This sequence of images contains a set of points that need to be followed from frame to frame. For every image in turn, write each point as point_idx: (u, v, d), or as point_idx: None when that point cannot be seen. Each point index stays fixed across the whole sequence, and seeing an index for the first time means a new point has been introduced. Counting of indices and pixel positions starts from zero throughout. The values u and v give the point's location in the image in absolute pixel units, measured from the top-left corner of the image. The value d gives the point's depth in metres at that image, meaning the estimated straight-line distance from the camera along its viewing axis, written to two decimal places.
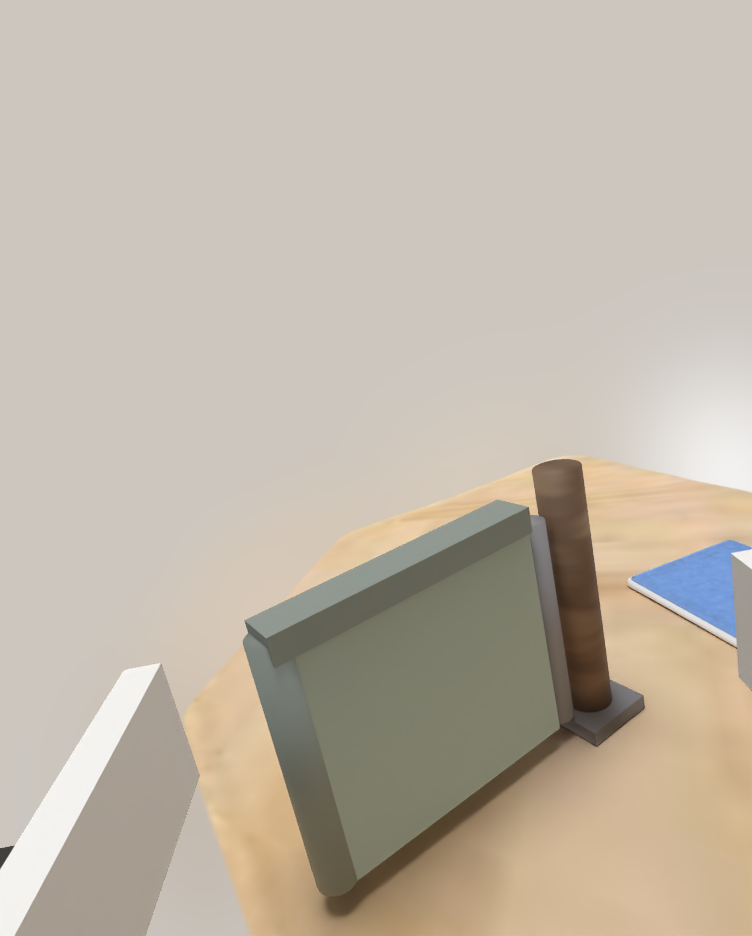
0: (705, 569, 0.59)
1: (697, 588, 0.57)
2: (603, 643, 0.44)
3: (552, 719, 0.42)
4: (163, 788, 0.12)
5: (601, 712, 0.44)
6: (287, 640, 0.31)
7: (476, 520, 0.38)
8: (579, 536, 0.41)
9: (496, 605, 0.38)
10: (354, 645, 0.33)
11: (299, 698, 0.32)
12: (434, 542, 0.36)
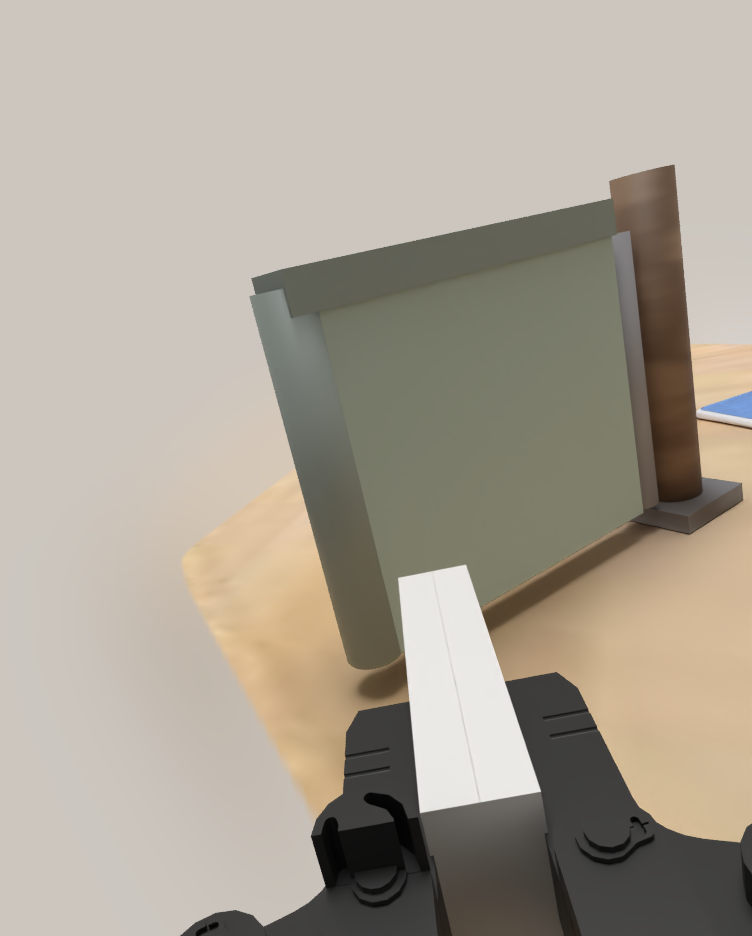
0: None
1: None
2: (695, 411, 0.35)
3: (635, 498, 0.34)
4: None
5: (691, 500, 0.36)
6: (310, 282, 0.23)
7: None
8: (671, 258, 0.33)
9: (572, 324, 0.30)
10: (397, 323, 0.25)
11: (325, 373, 0.24)
12: None
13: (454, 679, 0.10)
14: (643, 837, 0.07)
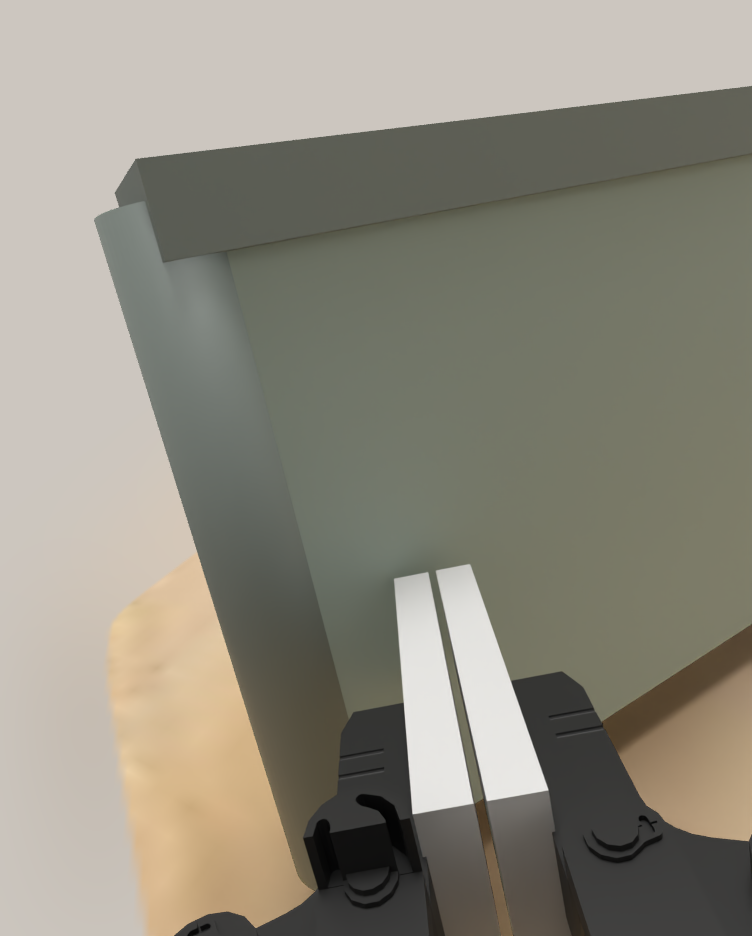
0: None
1: None
2: None
3: None
4: (449, 678, 0.13)
5: None
6: (203, 190, 0.11)
7: None
8: None
9: (702, 298, 0.18)
10: (388, 283, 0.13)
11: (239, 375, 0.12)
12: None
13: (460, 678, 0.10)
14: (651, 836, 0.07)
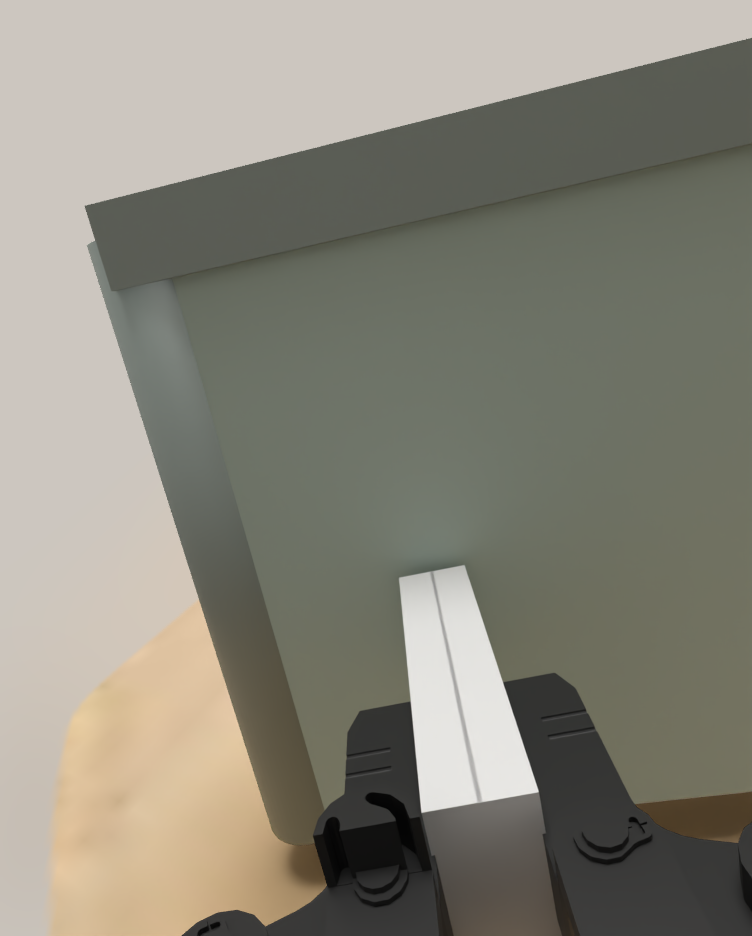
0: None
1: None
2: None
3: None
4: None
5: None
6: (140, 227, 0.13)
7: None
8: None
9: None
10: (337, 303, 0.13)
11: (182, 389, 0.14)
12: None
13: (452, 679, 0.10)
14: (641, 837, 0.07)
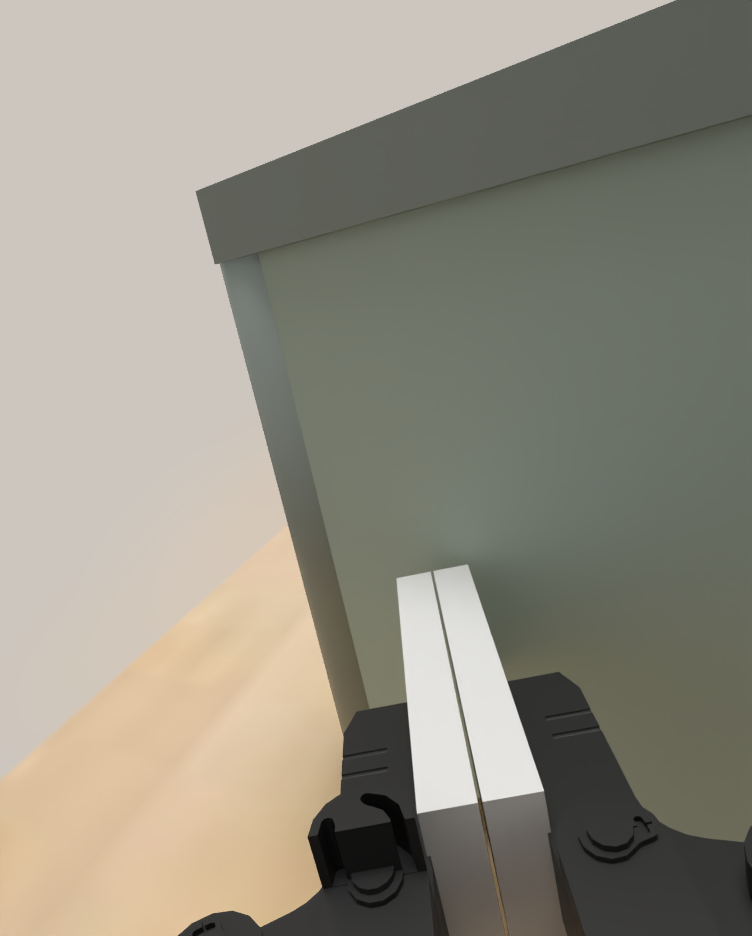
0: None
1: None
2: None
3: None
4: None
5: None
6: (230, 209, 0.15)
7: None
8: None
9: None
10: (378, 283, 0.13)
11: (264, 350, 0.16)
12: None
13: (456, 678, 0.10)
14: (646, 836, 0.07)
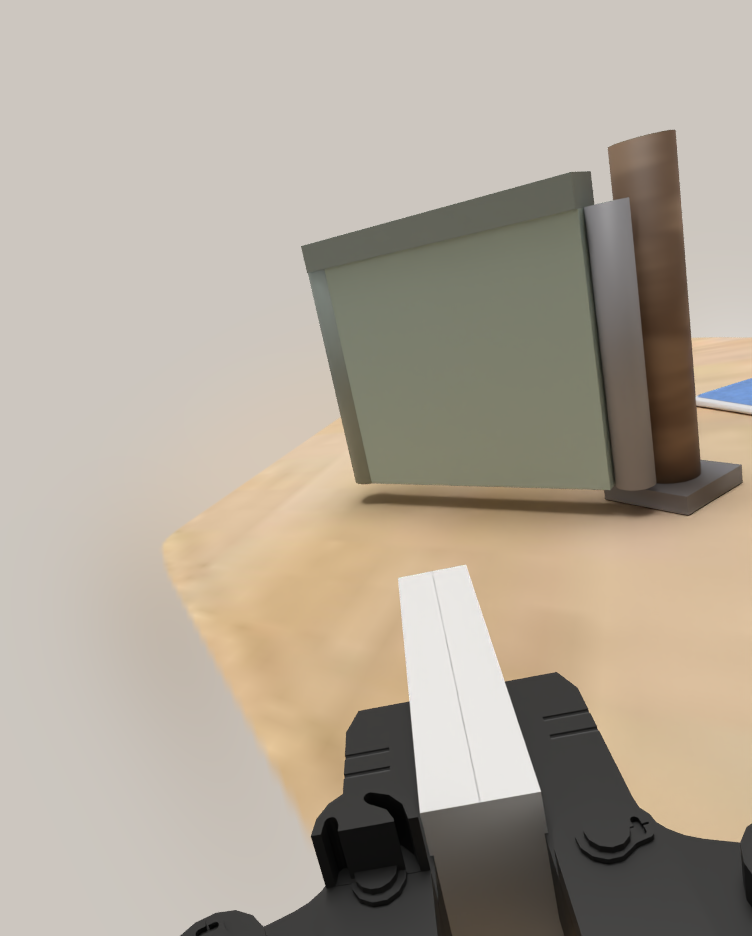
0: None
1: None
2: (694, 389, 0.34)
3: (598, 471, 0.35)
4: None
5: (690, 481, 0.35)
6: (314, 253, 0.40)
7: None
8: (671, 227, 0.31)
9: (521, 293, 0.34)
10: (368, 279, 0.39)
11: (325, 305, 0.41)
12: None
13: (454, 679, 0.10)
14: (643, 837, 0.07)
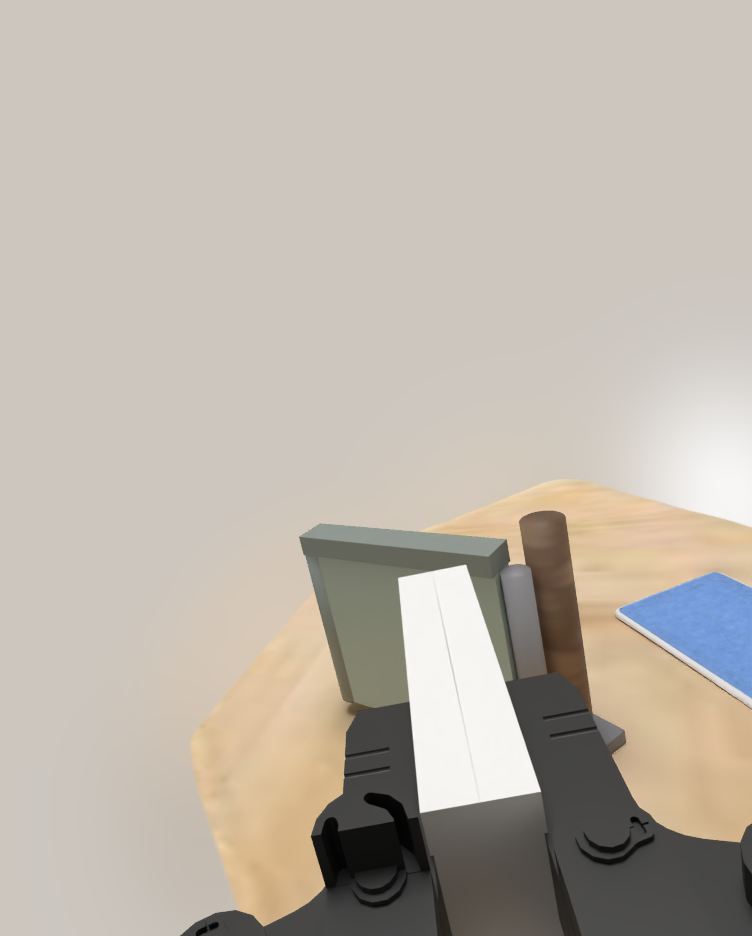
0: (690, 602, 0.62)
1: (681, 621, 0.60)
2: (586, 682, 0.47)
3: None
4: None
5: None
6: (309, 544, 0.53)
7: (461, 543, 0.45)
8: (563, 584, 0.44)
9: None
10: (349, 571, 0.51)
11: (317, 578, 0.54)
12: (419, 541, 0.47)
13: (454, 679, 0.10)
14: (643, 837, 0.07)
